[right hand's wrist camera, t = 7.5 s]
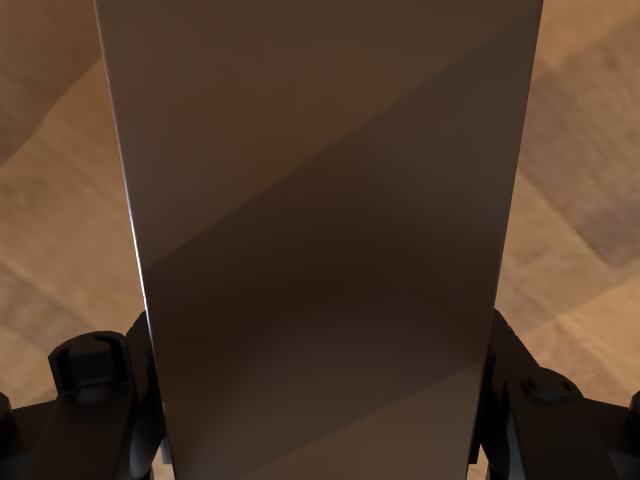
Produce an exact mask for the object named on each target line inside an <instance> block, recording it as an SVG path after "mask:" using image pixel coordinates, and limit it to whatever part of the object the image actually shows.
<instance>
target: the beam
mask: <svg viewBox="0 0 640 480" xmlns="http://www.w3.org/2000/svg"><path fill="white" fill-rule="evenodd" d="M93 5H94V11H95V16H96V22H97V28H98V34H99V40H100V45H101V51H102V57H103V63H104V69H105V75H106V80H107V86H108V92H109V98H110V104H111V110H112V115H113V121H114V127H115V133H116V139H117V145H118V150H119V156H120V162H121V168H122V174H123V180H124V185H125V191H126V197H127V203H128V209H129V215H130V220H131V226H132V232H133V238H134V244H135V250H136V255H137V261H138V267H139V273H140V279H141V285H142V290H143V296H144V302H145V308H146V314H147V320H148V325H149V331H150V337H151V343H152V349H153V355H154V360H155V366H156V372H157V378H158V384H159V390H160V395H161V401H162V407H163V413H164V419H165V425H166V430H167V436H168V442H169V448H170V454H171V460H172V465H173V471H174V477H175V480H466V479H467V473H468V466H469V460H470V454H471V448H472V442H473V435H474V429H475V423H476V417H477V410H478V404H479V398H480V392H481V386H482V379H483V373H484V367H485V361H486V355H487V348H488V342H489V336H490V330H491V323H492V317H493V311H494V305H495V299H496V292H497V286H498V280H499V274H500V267H501V261H502V255H503V249H504V243H505V236H506V230H507V224H508V218H509V212H510V205H511V199H512V193H513V187H514V180H515V174H516V168H517V162H518V156H519V149H520V143H521V137H522V131H523V125H524V118H525V112H526V106H527V100H528V93H529V87H530V81H531V75H532V69H533V62H534V56H535V50H536V44H537V37H538V31H539V25H540V19H541V13H542V6H543V0H93Z"/></svg>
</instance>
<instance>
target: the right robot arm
mask: <svg viewBox="0 0 640 480" xmlns="http://www.w3.org/2000/svg"><path fill="white" fill-rule="evenodd" d="M48 360H49V364H50V367H51V371H52V374H53V378H54V381H55V385H56V388H57V392H58V396H57V398H56V400H52V401H49V402H45V403H40V404H36V405H31V406H26V407H22V408H17V409H12V407H11V404H10V402H9V399H8V397H7V396H5V395H4V394H3V393H1V392H0V480H154V474H153V468H152V462H153V460H154V457H155V455H156V453H157V450H158V448H159V446H160V447H161V453H162V458H163V464H172V460H171V454H170V448H169V442H168V436H167V430H166V425H165V419H164V413H163V407H162V401H161V395H160V390H159V384H158V378H157V372H156V366H155V360H154V355H153V349H152V343H151V337H150V331H149V325H148V320H147V314H146V310H145V311H143V312H142V313H141V314H140V316H139V317H138V319H137V320H136V321H135V323H134V324H133V327H131V328H130V329H129V331H128V332H127V333H126V337H125V336H123V335H122V334H121V333H117V332H113V331H96V332H91V333H87V334H82V335H79V336H77V337H75V338H72V339H70V340H67V341H66V342H64V343H63V344H61V345H60V346H58V347H56V348H55V349H54V350H53V351H52V353H51V354H50V355H49V356H48ZM480 443H481V445H482V447H483V450H484V452H485V454H486V457H487V459H488V461H489V463H488V468H487V473H486V478H485V480H640V391H638V392H637V393H636V394H635V395H633V397H632V400H631V403H630V406H629V408H627V407H623V406H618V405H613V404H609V403H604V402H599V401H595V400H591V399H588V398H584V397H583V395H582V393H581V392H580V390H579V389H578V388H577V386H576V385H575V384H574V383H573V382H571V381H570V380H569V379H567V378H566V377H565V376H563V375H561V374H559V373H557V372H555V371H553V370H550V369H547V368H543V367H540V366H539V365H538V363H537V362H536V361H535V359H534V358H533V357H532V355H531V354H530V353H529V351H528V350H527V349H526V347H525V346H524V345H523V343H522V342H521V341H520V339H519V338H518V336H517V335H515V332H514V331H513V330H512V328H511V327H510V326H509V325H507V322H506V320H505V319H504V318H503V316H502V315H501V314H500V312H499V311H498V310H496V309H495V308H494V311H493V317H492V323H491V330H490V336H489V342H488V348H487V355H486V361H485V367H484V373H483V379H482V386H481V392H480V398H479V404H478V410H477V417H476V423H475V429H474V435H473V442H472V448H471V454H470V460H469V464H477V460H478V454H479V449H480Z"/></svg>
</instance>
